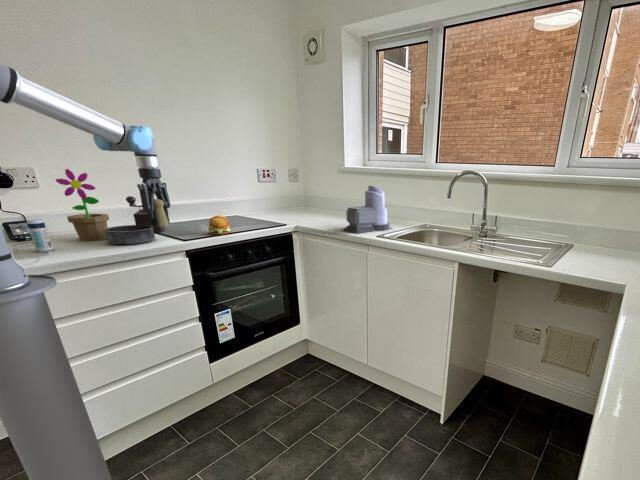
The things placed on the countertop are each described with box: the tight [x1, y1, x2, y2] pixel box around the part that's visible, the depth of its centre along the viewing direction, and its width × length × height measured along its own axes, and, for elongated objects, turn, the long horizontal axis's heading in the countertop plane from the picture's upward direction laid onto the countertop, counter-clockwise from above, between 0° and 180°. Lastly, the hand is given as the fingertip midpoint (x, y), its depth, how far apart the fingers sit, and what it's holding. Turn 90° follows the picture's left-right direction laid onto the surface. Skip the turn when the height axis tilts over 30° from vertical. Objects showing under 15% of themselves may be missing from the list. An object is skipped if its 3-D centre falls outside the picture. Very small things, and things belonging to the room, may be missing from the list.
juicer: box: [342, 184, 392, 235], centre depth 200 cm, size 30×16×24 cm, turn 139°
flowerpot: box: [55, 168, 110, 242], centre depth 154 cm, size 14×14×30 cm
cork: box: [154, 198, 170, 227], centre depth 150 cm, size 6×6×11 cm
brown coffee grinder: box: [125, 195, 166, 234], centre depth 174 cm, size 16×11×18 cm
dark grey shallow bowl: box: [104, 224, 156, 246], centre depth 155 cm, size 17×17×6 cm
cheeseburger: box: [207, 214, 231, 236], centre depth 178 cm, size 10×11×10 cm
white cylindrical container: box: [26, 218, 54, 253], centre depth 135 cm, size 5×5×12 cm
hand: (161, 224), depth 152 cm, fingers closed on cork, 6 cm apart
